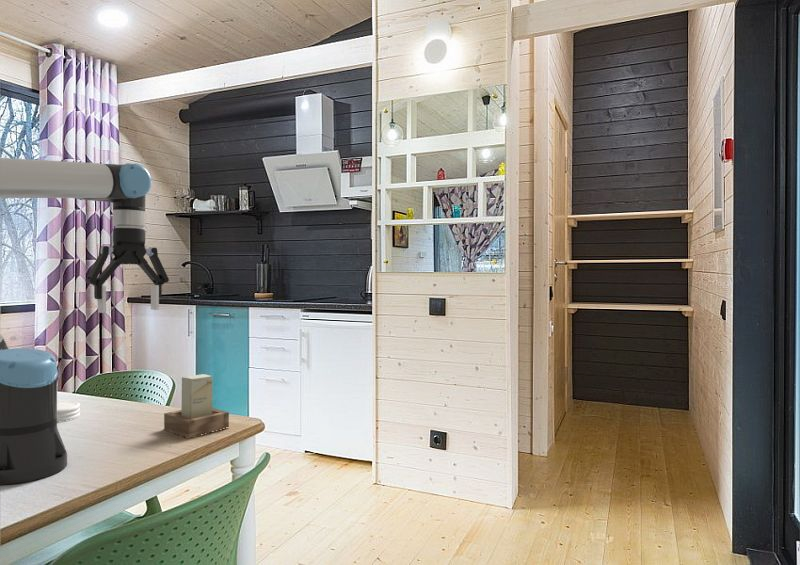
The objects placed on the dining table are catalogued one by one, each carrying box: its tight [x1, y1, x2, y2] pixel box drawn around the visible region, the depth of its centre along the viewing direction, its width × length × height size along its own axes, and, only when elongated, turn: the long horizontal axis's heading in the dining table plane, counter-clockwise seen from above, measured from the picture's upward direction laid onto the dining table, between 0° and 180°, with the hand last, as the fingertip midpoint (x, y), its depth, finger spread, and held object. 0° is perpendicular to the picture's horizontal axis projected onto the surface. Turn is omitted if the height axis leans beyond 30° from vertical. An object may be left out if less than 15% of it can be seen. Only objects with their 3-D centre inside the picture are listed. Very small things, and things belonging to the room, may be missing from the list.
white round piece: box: [57, 400, 81, 423], centre depth 150 cm, size 10×10×4 cm
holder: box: [163, 407, 230, 439], centre depth 142 cm, size 11×11×4 cm
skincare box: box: [181, 373, 214, 419], centre depth 142 cm, size 6×4×12 cm
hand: (129, 311), depth 146 cm, fingers open, 13 cm apart
